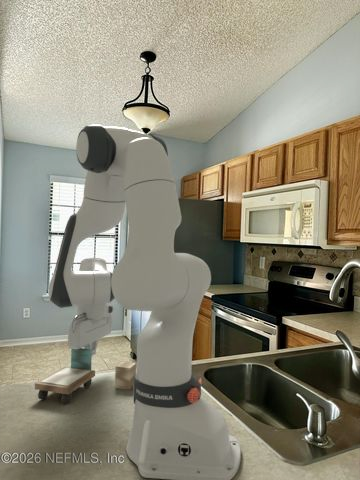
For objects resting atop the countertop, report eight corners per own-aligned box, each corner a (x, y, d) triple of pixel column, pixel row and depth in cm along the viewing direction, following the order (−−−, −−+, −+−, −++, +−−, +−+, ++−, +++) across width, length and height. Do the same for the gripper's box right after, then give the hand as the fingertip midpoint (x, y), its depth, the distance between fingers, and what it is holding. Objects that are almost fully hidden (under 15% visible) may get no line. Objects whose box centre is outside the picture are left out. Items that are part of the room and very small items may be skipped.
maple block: (135, 383, 99) (136, 363, 99) (129, 389, 95) (130, 368, 95) (121, 381, 100) (122, 361, 100) (115, 387, 96) (115, 366, 96)
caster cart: (96, 384, 97) (97, 350, 98) (68, 406, 84) (69, 366, 84) (66, 380, 100) (67, 346, 100) (34, 400, 86) (35, 361, 87)
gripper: (82, 317, 93) (81, 368, 93) (116, 306, 113) (115, 347, 112) (62, 315, 95) (61, 365, 94) (99, 305, 114) (98, 345, 114)
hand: (90, 355), depth 103 cm, fingers closed
